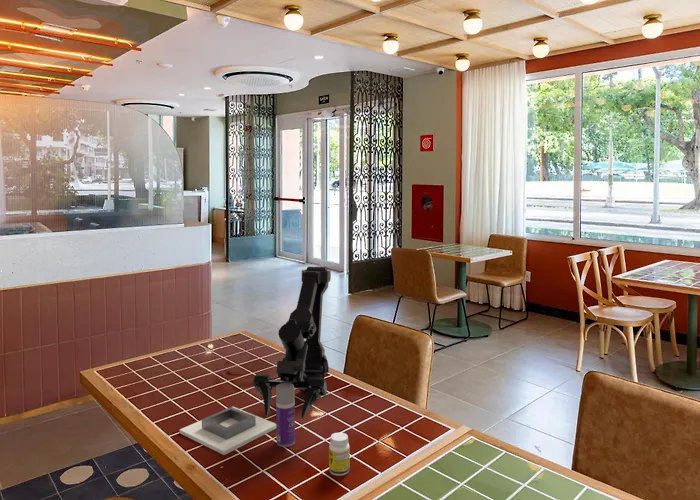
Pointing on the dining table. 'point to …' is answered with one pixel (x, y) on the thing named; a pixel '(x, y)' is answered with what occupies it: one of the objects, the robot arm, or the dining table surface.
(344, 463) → the supplement bottle
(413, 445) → the dining table surface
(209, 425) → the collar
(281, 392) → the container
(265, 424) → the mat
